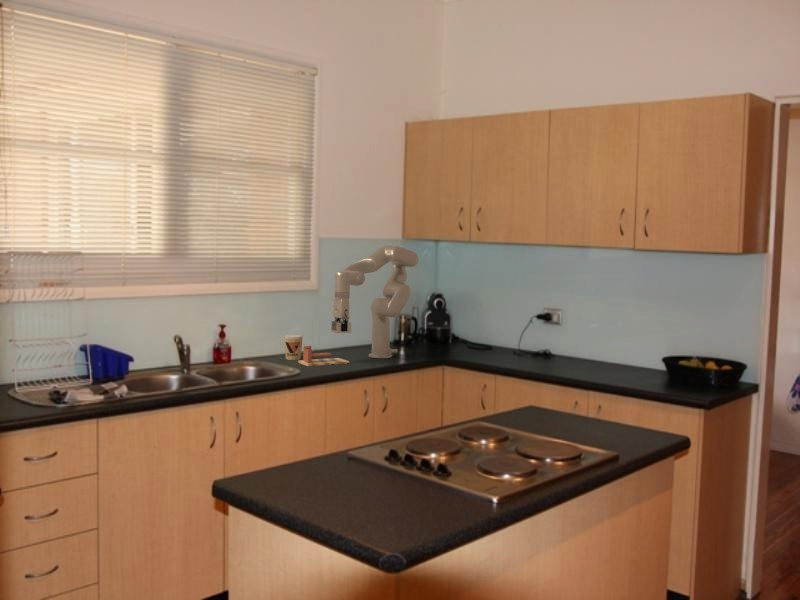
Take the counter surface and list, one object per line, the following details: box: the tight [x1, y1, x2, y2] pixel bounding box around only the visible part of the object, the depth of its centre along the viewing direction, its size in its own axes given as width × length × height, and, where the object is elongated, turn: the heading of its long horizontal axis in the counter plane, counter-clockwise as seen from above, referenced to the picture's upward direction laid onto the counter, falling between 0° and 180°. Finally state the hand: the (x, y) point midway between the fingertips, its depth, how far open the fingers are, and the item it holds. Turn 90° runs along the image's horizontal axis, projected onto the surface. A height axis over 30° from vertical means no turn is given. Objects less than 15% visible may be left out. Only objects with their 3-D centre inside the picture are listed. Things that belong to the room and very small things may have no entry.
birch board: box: [297, 357, 350, 367], centre depth 421 cm, size 23×12×1 cm, turn 120°
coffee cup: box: [284, 334, 304, 361], centre depth 430 cm, size 9×9×12 cm
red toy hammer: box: [302, 345, 332, 363], centre depth 419 cm, size 14×6×8 cm, turn 120°
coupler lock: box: [330, 320, 352, 334], centre depth 424 cm, size 8×7×5 cm
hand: (341, 330), depth 424 cm, fingers closed on coupler lock, 6 cm apart
